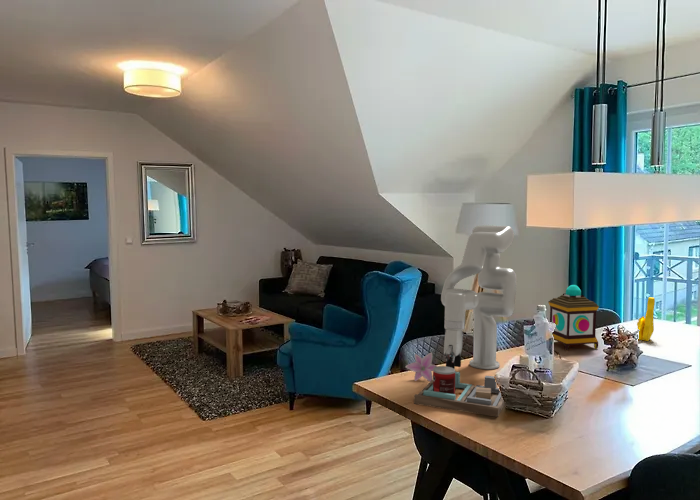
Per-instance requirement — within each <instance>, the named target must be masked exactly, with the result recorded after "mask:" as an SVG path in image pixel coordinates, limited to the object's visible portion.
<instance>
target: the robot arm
mask: <svg viewBox="0 0 700 500" xmlns="http://www.w3.org/2000/svg"><path fill="white" fill-rule="evenodd" d="M514 239H515V232H514V229H513V228H512V227H511V226H508V225H493V224H492V225H489V224H488V225H487V224H486V225H485V224H484V225H476V226H474V228H473V229H472V232H471V233H470V235H469V236H468V238H467V242H466V245H465V249H464V254H463V256H462V260H461V264H459V265H458V266H457V267H456V268H454V269H453V270H452V271H451V272H450V273H449V274H448V275H447V277H446V278H445V280H444V283H443V287H442V291H441V295H440V301H441V304H442V305H443V306H444V329H445V333H444V343H443V355H444V356H446V358H445V366H447V367H451V368H454V369H455V368H460V367H462V352H463V331H465V330H466V310H467V311H468V310H469V311H470V310H472V312H473V353H472V354H473V355H472V356H473V358H472V359H470V360H469V366H470V367H472V368H474V369H480V370H496V369H499V368H500V366H501V364H500V361H497V342H498V341H497V335H498V330H497V329H498V327H497V322H496V320H495V318H494V317H503V318H508V317H509V318H510V317H511V316H512V315H513V314H514V311H515V306H516V305H515V304H516V295H517V282H518V280H517V274H516V272H515V271H514V269H512V268H509V267H508V268H507V267H501V266H500V264H501V253H504V252H505V251H506V250H507V249H508V248H509V247H510V246H512V243H513V242H514ZM475 275H477V283H478V286H479V287H480V288H481V289H485V290H491V291H492V290H493V291H502V293H497V292H486V291H480V292H476V291H474V290H472V289H465V288H455V287H456V286H457V284H458V283H459V282H460V281H462V280H464V279H466V278H469V277H472V276H475ZM455 370H456V369H455Z"/></svg>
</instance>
